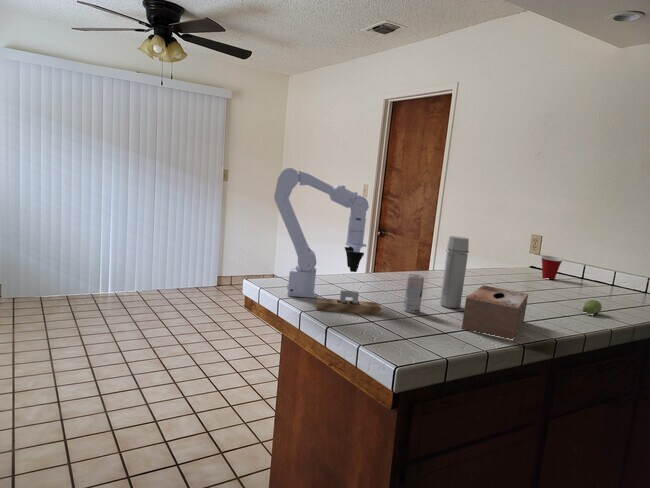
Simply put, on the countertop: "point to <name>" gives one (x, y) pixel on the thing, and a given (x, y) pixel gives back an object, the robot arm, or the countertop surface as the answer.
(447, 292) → the water bottle
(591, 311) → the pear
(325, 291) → the countertop surface
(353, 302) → the brushed metal block
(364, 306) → the rail
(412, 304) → the energy drink
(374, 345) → the countertop surface
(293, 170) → the robot arm
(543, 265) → the plastic cup
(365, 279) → the countertop surface
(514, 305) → the tissue box cover
